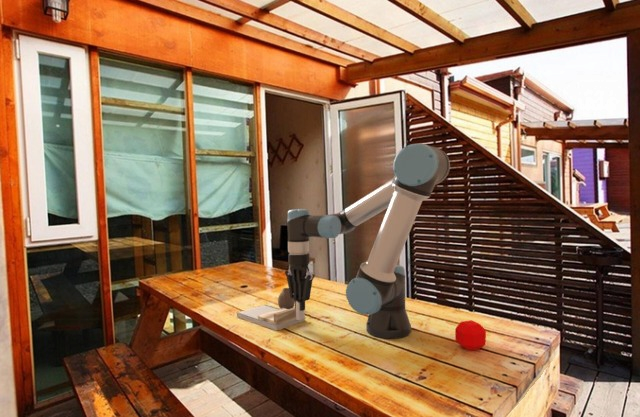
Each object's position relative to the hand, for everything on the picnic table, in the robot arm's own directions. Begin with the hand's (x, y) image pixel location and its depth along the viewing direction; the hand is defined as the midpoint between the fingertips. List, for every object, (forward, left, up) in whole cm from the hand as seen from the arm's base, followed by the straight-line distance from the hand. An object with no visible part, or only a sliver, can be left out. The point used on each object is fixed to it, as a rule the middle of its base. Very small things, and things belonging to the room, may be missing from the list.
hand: (300, 318), depth 140 cm
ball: (-52, -22, -4) cm, 57 cm away
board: (+17, 0, -4) cm, 17 cm away
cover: (+11, 0, -2) cm, 11 cm away
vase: (+21, -12, -4) cm, 24 cm away
